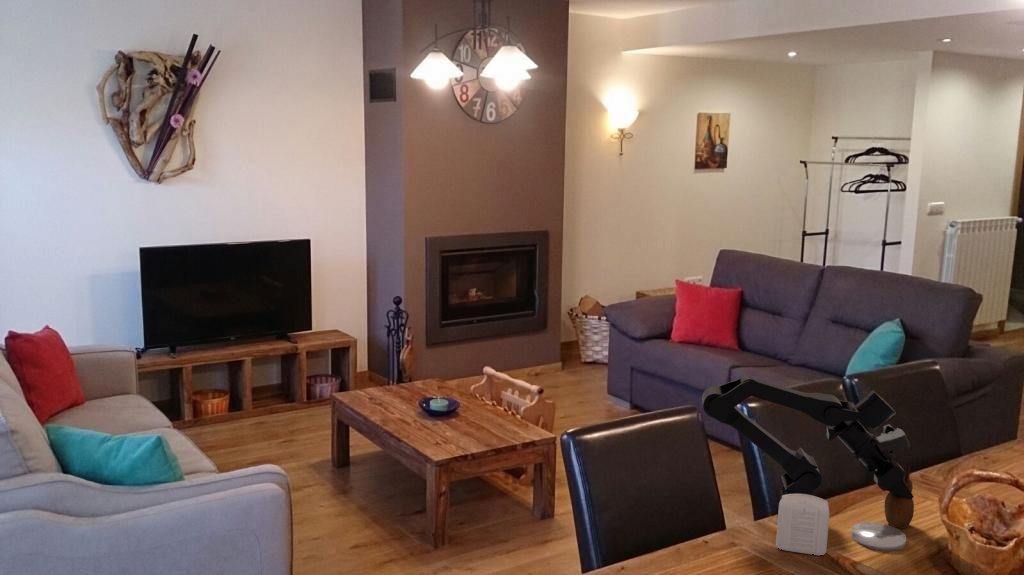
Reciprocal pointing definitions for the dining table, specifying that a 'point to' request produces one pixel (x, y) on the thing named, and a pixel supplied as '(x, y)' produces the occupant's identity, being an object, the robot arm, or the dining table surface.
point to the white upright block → (802, 524)
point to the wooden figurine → (900, 505)
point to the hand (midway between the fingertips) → (906, 491)
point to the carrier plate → (878, 536)
